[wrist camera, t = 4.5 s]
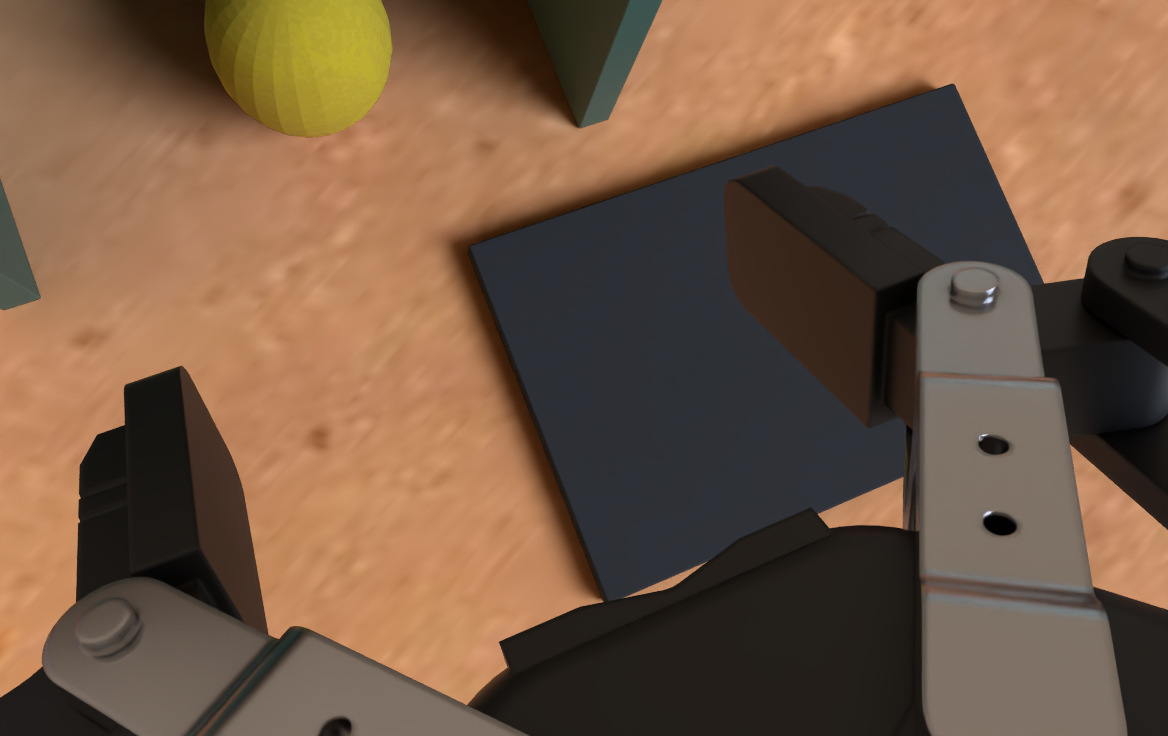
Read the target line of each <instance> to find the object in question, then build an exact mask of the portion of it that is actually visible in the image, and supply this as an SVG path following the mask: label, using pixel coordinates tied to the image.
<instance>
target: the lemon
mask: <svg viewBox="0 0 1168 736" xmlns="http://www.w3.org/2000/svg"><path fill="white" fill-rule="evenodd" d="M204 33H205V38H206V43H207V47H208V51H209V56H210V60H211V63H212V66H213V68H214V70H215V72H216V73H217V75H218V77H219V79H220V81H221V83H222V85H223V86H224V88H225V90H226V92H227V93H228V94H229V96H230V97H231V98H232V99H233V100H234V101H235V102H236V103H237V104H238V105H239V106H240V107H241V108H242V109H243V111H244V112H246V113H247V114H248V115H249V116H251V117H252V118H254V119H255V120H257V121H258V122H260V123H262V124H263V125H265V126H266V127H268V128H270V129H273V130H276V131H278V132H281V133H284V134H287V135H291V136H300V137H309V138H311V137H319V136H327V135H331V134H334V133H336V132H339V131H342V130H344V129H347V128H348V127H350V126H351V125H353V124H354V123H356V122H357V121H359V120H360V119H362V118H363V117H364V116H365V115H366V114H367V113H368V111H369V110H370V109H371V108H372V107H373V106H374V104H375V103H376V102H377V100H378V99H379V96H380V94H381V92H382V90H383V88H384V86H385V84H386V81H387V79H388V74H389V68H390V62H391V56H392V42H391V33H390V25H389V20H388V16H387V13H386V11H385V8H384V6H383V3H382V1H381V0H206V1H205V17H204Z"/></svg>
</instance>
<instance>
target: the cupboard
mask: <svg viewBox="0 0 1168 736" xmlns="http://www.w3.org/2000/svg"><path fill="white" fill-rule="evenodd" d="M527 1H528V4H529V6H530V9H531V11H532V14H533V16H534V19H535V21H536V23H537V26H538V28H539V31H540V33H541V36H542V38H543V41H544V43H545V46H546V48H547V51H548V53H549V55H550V58H551V60H552V63H553V65H554V68H555V70H556V73H557V75H558V78H559V80H560V82H561V85H562V87H563V90H564V92H565V95H566V97H567V100H568V102H569V105H570V107H571V110H572V112H573V114H574V117H575V119H576V122H577V124H578V127H579V128H583V127H586V126H589V125H592V124H595V123H598V122H602V121H605V120H608V119H609V117H610V115H611V113H612V110H613V108H614V106H615V104H616V101H617V99H618V97H619V95H620V93H621V90H622V88H623V86H624V84H625V82H626V79H627V77H628V75H629V73H630V71H631V68H632V66H633V64H634V62H635V60H636V57H637V55H638V53H639V51H640V49H641V46H642V44H643V42H644V40H645V37H646V35H647V33H648V31H649V29H650V26H651V24H652V22H653V20H654V18H655V15H656V13H657V11H658V9H659V7H660V4H661V2H662V0H527ZM38 299H40V294H39V291H38V288H37V285H36V282H35V279H34V276H33V273H32V270H31V268H30V265H29V262H28V259H27V256H26V253H25V250H24V247H23V244H22V241H21V238H20V235H19V232H18V230H17V227H16V224H15V221H14V218H13V215H12V212H11V209H10V206H9V203H8V200H7V197H6V194H5V192H4V189H3V186H2V183H1V180H0V309H2V310H6V309H9V308H12V307H16V306H19V305H22V304H25V303H28V302H31V301H35V300H38Z"/></svg>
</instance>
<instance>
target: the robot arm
mask: <svg viewBox="0 0 1168 736" xmlns="http://www.w3.org/2000/svg"><path fill="white" fill-rule="evenodd" d="M724 212H725V228H726V244H727V260H728V272H729V277H730V281H731V284H732V287H733V290H734V292H735V294H736V296H737V298H738V300H739V301H740V303H741V304H742V306H743V307H744V308H745V309H746V310H747V311H748V312H749V313H750V314H751V315H752V316H753V317H754V318H755V319H756V320H757V321H758V322H759V323H760V324H761V325H762V326H763V327H765V328H766V329H767V330H768V331H769V332H770V333H771V334H772V335H773V336H774V337H775V338H776V339H777V340H778V341H779V342H780V343H781V344H782V345H783V346H784V347H785V348H786V349H787V350H788V351H789V352H790V353H791V354H792V355H793V356H794V357H795V358H796V359H797V360H798V361H799V362H800V363H801V364H802V365H803V366H804V367H805V368H806V369H807V370H808V371H809V372H811V373H812V374H813V375H814V376H815V377H816V378H817V379H818V380H819V381H820V382H821V383H822V384H823V385H824V386H825V387H826V388H827V389H828V390H829V391H830V392H831V393H832V394H833V395H834V396H835V397H836V398H837V399H838V400H839V401H840V402H841V403H842V404H843V405H844V406H845V407H846V408H847V409H848V410H849V411H850V412H851V413H852V414H853V415H854V416H855V417H857V418H858V419H859V420H860V421H861V422H862V423H863V424H864V425H865V426H866V427H867V428H868V429H872V428H874V427H876V426H879V425H881V424H883V423H886V422H888V421H891V420H893V419H895V418H898V417H899V418H900V419H901V420H902V421H903V422H904V423H906V427H905V439H904V482H903V529H901V528H895V527H885V526H867V525H857V526H845V527H836V528H830V529H829V527H828V526H827V525H826V524H825V523H824V522H823V520H822V519H821V518H820V517H819V516H818V515H817V513H816V512H815V511H814V510H813V509H812V507H810V508H808V509H806V510H803V511H801V512H799V513H797V514H794V515H792V516H790V517H787V518H785V519H783V520H780V521H778V522H776V523H773V524H771V525H769V526H766V527H764V528H762V529H759V530H757V531H755V532H752V533H750V534H748V535H746V536H743V537H741V538H739V539H737V540H736V541H735V542H733V543H732V544H731V545H729V546H728V547H727V548H725V549H724V550H723V551H721V552H720V553H719V554H717V555H716V556H715V557H713V558H712V559H711V560H709V561H708V562H707V563H705V564H704V565H703V566H701V567H700V568H699V569H697V570H696V571H695V572H693V573H692V574H691V575H689V576H688V577H687V578H685V579H684V580H683V581H681V582H680V583H678V584H677V585H675V586H674V587H671V588H669V589H666V590H662V591H657V592H652V593H647V594H642V595H637V596H632V597H627V598H622V599H617V600H612V601H607V602H602V603H597V604H592V605H587V606H582V607H579V608H576V609H574V610H572V611H569V612H567V613H565V614H562V615H560V616H558V617H555V618H553V619H551V620H548V621H546V622H544V623H541V624H539V625H537V626H534V627H532V628H530V629H528V630H525V631H523V632H521V633H518V634H516V635H514V636H511V637H509V638H507V639H504V640H502V641H500V642H499V643H500V646H501V649H502V652H503V655H504V658H505V661H506V664H507V667H508V668H506V669H505V670H504V671H502V672H501V673H500V674H498V675H497V676H496V677H494V678H493V679H492V680H491V681H490V682H489V683H488V684H487V685H486V686H485V687H483V688H482V689H481V690H480V691H479V692H478V693H477V694H476V696H475V697H474V698H473V699H472V700H471V701H470V702H469V704H468V705H465V704H463V703H461V702H459V701H457V700H455V699H453V698H451V697H449V696H447V695H445V694H442V693H440V692H438V691H436V690H434V689H432V688H430V687H428V686H426V685H424V684H422V683H420V682H418V681H416V680H413V679H411V678H409V677H407V676H405V675H403V674H401V673H399V672H397V671H395V670H393V669H391V668H389V667H387V666H385V665H382V664H380V663H378V662H376V661H374V660H372V659H370V658H368V657H366V656H364V655H362V654H360V653H358V652H356V651H354V650H351V649H349V648H347V647H345V646H343V645H341V644H339V643H337V642H335V641H333V640H331V639H329V638H327V637H325V636H323V635H320V634H318V633H316V632H314V631H312V630H310V629H307V628H304V627H299V626H293V627H290V628H289V629H288V630H287V631H286V632H285V633H284V634H283V635H282V637H281V638H280V639H277V638H274V637H272V636H270V635H268V629H267V623H266V618H265V612H264V606H263V601H262V595H261V589H260V583H259V578H258V572H257V566H256V560H255V555H254V549H253V543H252V538H251V532H250V526H249V520H248V515H247V509H246V503H245V497H244V492H243V488H242V484H241V481H240V478H239V475H238V472H237V469H236V466H235V464H234V461H233V459H232V457H231V454H230V452H229V450H228V448H227V446H226V444H225V442H224V440H223V438H222V437H221V435H220V433H219V431H218V429H217V427H216V425H215V423H214V421H213V419H212V417H211V415H210V413H209V411H208V410H207V408H206V406H205V404H204V402H203V400H202V398H201V396H200V394H199V392H198V390H197V388H196V386H195V384H194V383H193V381H192V379H191V377H190V375H189V374H188V372H187V371H186V369H185V368H184V367H183V366H179V367H176V368H173V369H170V370H167V371H164V372H161V373H158V374H156V375H153V376H150V377H147V378H144V379H141V380H138V381H135V382H132V383H129V384H126V385H125V387H124V407H125V425H124V426H121V427H118V428H115V429H112V430H109V431H107V432H104V433H101V434H98V435H97V436H96V438H95V440H94V441H93V443H92V445H91V447H90V448H89V450H88V452H87V454H86V456H85V457H84V459H83V461H82V463H81V464H80V478H79V495H80V497H81V499H79V514H78V517H79V519H80V523H78V551H77V587H76V603H75V604H74V605H73V606H72V607H70V608H69V609H68V610H67V611H66V612H65V613H64V614H63V615H62V616H61V618H60V619H59V620H58V621H57V623H56V624H55V625H54V627H53V628H52V630H51V632H50V633H49V635H48V637H47V640H46V642H45V644H44V648H43V653H42V664H43V666H42V667H41V668H40V669H39V670H38V671H37V672H36V673H35V674H33V675H32V676H31V677H30V678H29V679H27V680H26V681H24V682H23V683H22V684H20V685H19V686H17V687H16V688H14V689H13V690H11V691H10V692H8V693H7V694H5V695H4V696H2V697H1V698H0V736H1168V610H1166V609H1163V608H1160V607H1157V606H1153V605H1150V604H1147V603H1144V602H1141V601H1137V600H1134V599H1131V598H1128V597H1125V596H1121V595H1118V594H1115V593H1112V592H1109V591H1105V590H1102V589H1099V588H1096V587H1093V585H1092V579H1091V573H1090V566H1089V560H1088V554H1087V548H1086V542H1085V535H1084V529H1083V523H1082V517H1081V511H1080V504H1079V498H1078V492H1077V486H1076V480H1075V473H1074V467H1073V461H1072V455H1071V448H1070V445H1072V446H1073V447H1074V448H1075V449H1076V450H1077V451H1078V452H1080V453H1081V454H1082V455H1083V456H1084V457H1085V458H1086V459H1088V460H1089V461H1090V462H1091V463H1092V464H1093V465H1094V466H1096V467H1097V468H1098V469H1099V470H1100V471H1101V472H1102V473H1104V474H1105V475H1106V476H1107V477H1108V478H1109V479H1110V480H1112V481H1113V482H1114V483H1115V484H1116V485H1117V486H1118V487H1120V488H1121V489H1122V490H1123V491H1124V492H1125V493H1126V494H1127V495H1129V496H1130V497H1131V498H1132V499H1133V500H1134V501H1135V502H1137V503H1138V504H1139V505H1140V506H1141V507H1142V508H1143V509H1145V510H1146V511H1147V512H1148V513H1149V514H1150V515H1151V516H1153V517H1154V518H1155V519H1156V520H1157V521H1158V522H1159V523H1161V524H1162V525H1163V526H1164V527H1165V528H1166V529H1167V530H1168V240H1163V239H1158V238H1149V237H1127V238H1120V239H1115V240H1111V241H1108V242H1106V243H1103V244H1101V245H1099V246H1098V247H1096V248H1095V249H1094V250H1093V251H1092V252H1091V254H1090V256H1089V258H1088V263H1087V268H1086V273H1085V277H1084V278H1082V279H1075V280H1068V281H1061V282H1054V283H1047V284H1040V285H1032V286H1030V285H1029V283H1028V282H1027V281H1026V280H1025V279H1024V278H1023V277H1022V276H1021V275H1019V274H1018V273H1016V272H1015V271H1013V270H1011V269H1009V268H1006V267H1003V266H1001V265H997V264H993V263H988V262H981V261H960V262H952V263H948V264H946V263H945V262H943V261H942V260H940V259H939V258H937V257H936V256H935V255H933V254H932V253H930V252H929V251H927V250H926V249H924V248H923V247H922V246H920V245H919V244H917V243H916V242H914V241H913V240H911V239H910V238H909V237H907V236H906V235H904V234H903V233H901V232H900V231H898V230H897V229H896V228H894V227H893V226H891V227H889V226H888V223H887V222H885V221H884V220H883V219H881V218H880V217H878V216H877V215H875V214H870V211H869V210H868V209H867V208H865V207H864V206H862V205H861V204H859V203H858V202H857V201H855V200H854V199H852V198H851V197H849V196H848V195H846V194H843V193H839V192H836V191H833V190H829V189H826V188H823V187H819V186H816V185H814V186H811V187H809V188H808V187H807V186H805V185H804V184H802V183H801V182H800V181H798V180H797V179H795V178H794V177H793V176H791V175H790V174H788V173H787V172H786V171H784V170H783V169H782V168H780V167H778V166H775V165H774V166H770V167H767V168H764V169H761V170H758V171H755V172H752V173H749V174H746V175H743V176H740V177H737V178H734V179H731V180H729V181H728V182H727V183H726V185H725V188H724Z"/></svg>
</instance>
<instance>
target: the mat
mask: <svg viewBox="0 0 1168 736" xmlns="http://www.w3.org/2000/svg"><path fill="white" fill-rule="evenodd" d="M774 165H775V166H778V167H780V168H782V169H783V170H784V171H786V172H787V173H788V174H790V175H791V176H793V177H794V178H795V179H797V180H798V181H800V182H801V183H802V184H804V185H805V186H807V187H808V188H809V187H811V186H814V185H816V186H819V187H823V188H826V189H829V190H833V191H836V192H839V193H843V194H846V195H848V196H849V197H851V198H852V199H854V200H855V201H857V202H858V203H859V204H861V205H862V206H864V207H865V208H867V209H868V210H869V211H870V214H875V215H877V216H878V217H880V218H881V219H883V220H884V221H885V222H887V223H888V226H889V227H891V226H893V227H894V228H896V229H897V230H898V231H900V232H901V233H903V234H904V235H906V236H907V237H909V238H910V239H911V240H913V241H914V242H916V243H917V244H919V245H920V246H922V247H923V248H924V249H926V250H927V251H929V252H930V253H932V254H933V255H935V256H936V257H937V258H939V259H940V260H942V261H943V262H945V263H946V264H948V263H952V262H960V261H981V262H988V263H993V264H997V265H1001V266H1003V267H1006V268H1009V269H1011V270H1013V271H1015V272H1016V273H1018V274H1019V275H1021V276H1022V277H1023V278H1024V279H1025V280H1026V281H1027V282H1028V283H1029V285H1030V286H1032V285H1040V284H1044V282H1043V280H1042V278H1041V275H1040V273H1039V271H1038V269H1037V267H1036V264H1035V262H1034V260H1033V258H1032V255H1031V253H1030V251H1029V249H1028V247H1027V244H1026V242H1025V240H1024V238H1023V235H1022V233H1021V231H1020V229H1019V227H1018V224H1017V222H1016V220H1015V218H1014V215H1013V213H1012V211H1011V209H1010V207H1009V204H1008V202H1007V200H1006V198H1005V195H1004V193H1003V191H1002V189H1001V187H1000V184H999V182H998V180H997V178H996V175H995V173H994V171H993V169H992V166H991V164H990V162H989V160H988V158H987V155H986V153H985V151H984V149H983V146H982V144H981V142H980V140H979V138H978V135H977V133H976V131H975V129H974V126H973V124H972V122H971V120H970V118H969V115H968V113H967V111H966V109H965V106H964V104H963V102H962V100H961V98H960V95H959V93H958V91H957V89H956V86H955V85H954V84H950V85H947V86H944V87H941V88H938V89H935V90H932V91H929V92H926V93H923V94H920V95H917V96H914V97H911V98H908V99H905V100H902V101H899V102H896V103H893V104H890V105H887V106H884V107H881V108H878V109H875V110H872V111H869V112H866V113H863V114H860V115H857V116H854V117H851V118H848V119H845V120H842V121H839V122H836V123H833V124H830V125H827V126H824V127H821V128H818V129H815V130H812V131H809V132H806V133H803V134H800V135H797V136H794V137H791V138H788V139H785V140H782V141H779V142H776V143H773V144H770V145H767V146H765V147H762V148H759V149H756V150H753V151H750V152H747V153H744V154H741V155H738V156H735V157H732V158H729V159H726V160H723V161H720V162H717V163H714V164H711V165H708V166H705V167H702V168H699V169H696V170H693V171H690V172H687V173H684V174H681V175H678V176H675V177H672V178H669V179H666V180H663V181H660V182H657V183H654V184H651V185H648V186H645V187H642V188H639V189H636V190H633V191H630V192H627V193H624V194H621V195H618V196H615V197H612V198H609V199H606V200H603V201H600V202H597V203H594V204H591V205H588V206H585V207H582V208H579V209H576V210H573V211H571V212H568V213H565V214H562V215H559V216H556V217H553V218H550V219H547V220H544V221H541V222H538V223H535V224H532V225H529V226H526V227H523V228H520V229H517V230H514V231H511V232H508V233H505V234H502V235H499V236H496V237H493V238H490V239H487V240H484V241H481V242H478V243H475V244H472V245H470V246H469V247H468V255H469V258H470V261H471V263H472V266H473V268H474V271H475V273H476V276H477V278H478V281H479V284H480V286H481V289H482V291H483V294H484V296H485V299H486V302H487V304H488V307H489V309H490V312H491V314H492V317H493V320H494V322H495V325H496V327H497V330H498V332H499V335H500V338H501V340H502V343H503V345H504V348H505V350H506V353H507V356H508V358H509V361H510V363H511V366H512V368H513V371H514V374H515V376H516V379H517V381H518V384H519V386H520V389H521V391H522V394H523V397H524V399H525V402H526V404H527V407H528V409H529V412H530V415H531V417H532V420H533V422H534V425H535V427H536V430H537V433H538V435H539V438H540V440H541V443H542V445H543V448H544V451H545V453H546V456H547V458H548V461H549V463H550V466H551V469H552V471H553V474H554V476H555V479H556V481H557V484H558V487H559V489H560V492H561V494H562V497H563V499H564V502H565V504H566V507H567V510H568V512H569V515H570V517H571V520H572V522H573V525H574V528H575V530H576V533H577V535H578V538H579V540H580V543H581V546H582V548H583V551H584V553H585V556H586V558H587V561H588V564H589V566H590V569H591V571H592V574H593V576H594V579H595V582H596V584H597V587H598V589H599V592H600V594H601V597H602V600H603V601H604V602H607V601H612V600H617V599H622V598H624V597H626V596H628V595H631V594H633V593H635V592H638V591H640V590H642V589H645V588H647V587H649V586H652V585H654V584H656V583H659V582H661V581H663V580H666V579H668V578H670V577H672V576H675V575H677V574H679V573H682V572H684V571H686V570H689V569H691V568H693V567H696V566H698V565H700V564H703V563H705V562H707V561H709V560H711V559H712V558H713V557H715V556H716V555H717V554H719V553H720V552H721V551H723V550H724V549H725V548H727V547H728V546H729V545H731V544H732V543H733V542H735V541H736V540H737V539H739V538H741V537H743V536H746V535H748V534H750V533H752V532H755V531H757V530H759V529H762V528H764V527H766V526H769V525H771V524H773V523H776V522H778V521H780V520H783V519H785V518H787V517H790V516H792V515H794V514H797V513H799V512H801V511H803V510H806V509H808V508H810V507H812V509H813V510H814V511H815V512H816V513H817V514H818V513H821V512H823V511H825V510H827V509H830V508H832V507H834V506H837V505H839V504H841V503H844V502H846V501H848V500H851V499H853V498H855V497H858V496H860V495H862V494H865V493H867V492H869V491H871V490H874V489H876V488H878V487H881V486H883V485H885V484H888V483H890V482H892V481H895V480H897V479H899V478H902V477H904V439H905V427H906V423H904V422H903V421H902V420H901V419H900V418H899V417H898V418H895V419H893V420H891V421H888V422H886V423H883V424H881V425H879V426H876V427H874V428H872V429H868V428H867V427H866V426H865V425H864V424H863V423H862V422H861V421H860V420H859V419H858V418H857V417H855V416H854V415H853V414H852V413H851V412H850V411H849V410H848V409H847V408H846V407H845V406H844V405H843V404H842V403H841V402H840V401H839V400H838V399H837V398H836V397H835V396H834V395H833V394H832V393H831V392H830V391H829V390H828V389H827V388H826V387H825V386H824V385H823V384H822V383H821V382H820V381H819V380H818V379H817V378H816V377H815V376H814V375H813V374H812V373H811V372H809V371H808V370H807V369H806V368H805V367H804V366H803V365H802V364H801V363H800V362H799V361H798V360H797V359H796V358H795V357H794V356H793V355H792V354H791V353H790V352H789V351H788V350H787V349H786V348H785V347H784V346H783V345H782V344H781V343H780V342H779V341H778V340H777V339H776V338H775V337H774V336H773V335H772V334H771V333H770V332H769V331H768V330H767V329H766V328H765V327H763V326H762V325H761V324H760V323H759V322H758V321H757V320H756V319H755V318H754V317H753V316H752V315H751V314H750V313H749V312H748V311H747V310H746V309H745V308H744V307H743V306H742V304H741V303H740V301H739V300H738V298H737V296H736V294H735V292H734V290H733V287H732V284H731V281H730V277H729V272H728V260H727V244H726V228H725V212H724V188H725V185H726V183H727V182H728V181H729V180H731V179H734V178H737V177H740V176H743V175H746V174H749V173H752V172H755V171H758V170H761V169H764V168H767V167H770V166H774Z"/></svg>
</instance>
